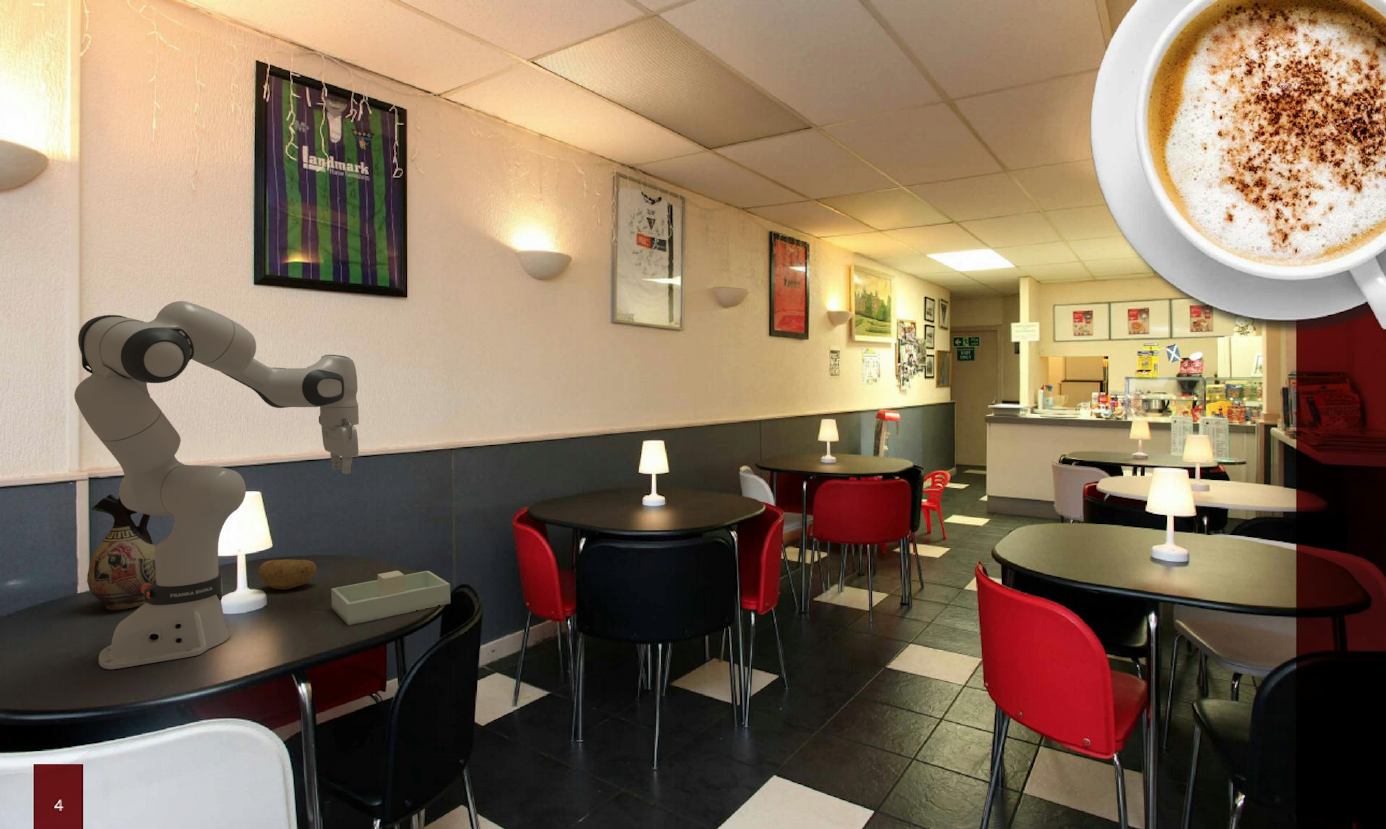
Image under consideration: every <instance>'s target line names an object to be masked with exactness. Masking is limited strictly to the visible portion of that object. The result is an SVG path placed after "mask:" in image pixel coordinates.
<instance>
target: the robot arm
mask: <svg viewBox="0 0 1386 829" xmlns="http://www.w3.org/2000/svg"><path fill="white" fill-rule="evenodd" d="M77 341H78V349H79V350H80V355H81V366H82V368H83V369H84V370H85V371H86V372H87V373H90V374H91V375H89V376H88V377H86V378H85V379H84V380H82V381H81V382H80V383H79V384H78V385H77V387H76V388H75V390H74V395H73V396H74V401H75V403H76V405H77V407H78V410H79V411H80V413H81V415H82V417H83V418H84V420H85V421H86V423H87V425H88V426H89V428H90V429H91V430H92V431H93V433H94V434H95V435H96V437H97V438H98V439H99V440H100V441H101V443H102V444H103V445H104V446H105V448H106V449H107V450H108V451H109V452H110V453H111V455H112V456H113V457H114V459H115V460H116V461H117V462H118V464H119V465H120V467H121V469H122V471H123V475H124V477H123V478H122V479H121V481H120V484H119V487H118V488H119V489H118V495H119V496H118V497H120V500H121V502H122V504H123V505H124V506H125V507H126V508H128V509H130V510H132V511H136V512H137V513H140V514H142V515H143V514H147V515H150V516H151V517H152V516H153V517H154V516H156V517H157V516H158V517H159V516H161V517H173V518H174V522H173V527H172V530H171V532H170V534H169V535H168V536H166V537H165V538H163V539H161V540H160V541H159V542H158V543H157V544H156V545H155V546H156V548H155V552H154V554H155V573H156V582H155V583H154V584H151V583H145V584H143V586H141V591H142V593H144V598H145V603H144V604H143V605H141V606H138V608H136V609H135V610H134V611H133V612H132V613H130V614H129V615H128V616H126V617H125V618H123V619H122V620H121V621H120V622H119V623H118V624H117V625H116V628H115V630H114V631H113V633H112V634H113V635H112V639H111V644H110V645H108V646H106V647H105V648H103V649H102V650H101V651H100V652H99V655H98V665H99V666H100V667H101V668H102V669H106V670H115V669H122V668H123V669H125V668H128V667H135V666H140V665H147V664H153V663H158V662H166V661H172V660H179V659H184V658H190V657H194V656H199V655H201V654H203V653H205V652H206V651H208V650H209V649H212V648H214V647H217V646H219V645H221V644H223V643H225V642H226V641H227V640H229V639H230V637H231V632H230V630H229V628H228V625H227V622H226V618H225V614H224V609H223V605H222V599H223V592H224V591H223V578H222V576H221V573H220V571H219V541H220V536H221V532H222V529H223V527H224V525H225V523H226V521H227V520H228V519H229V517H230V516H231V515H232V514H233V513H234V512H236V511H237V510H238V509H239V508H240V507H241V505H242V504H243V503H244V500H245V497H246V492H247V489H246V488H247V487H246V483H245V480H244V478H243V477H242V475H241V474H240V473H239V472H238V471H237V470H234V469H233V470H232V469H229V468H225V467H222V466H218V465H198V464H197V465H196V464H194V465H190V464H189V465H188V464H184V463H182V462H181V461H179V460H178V459H177V458H176V456H175V455H176V454H177V453H178V451H179V449H180V445H181V441H182V440H181V436H180V434H179V432H178V431H177V429H176V428H175V427H174V426H173V424H172V423H171V421H170V420H169V419H168V418H167V416H166V415H165V413H164V412H163V411H162V409H161V408H160V407H159V405H158V404H157V403H156V402H155V401H154V399H153V398H152V397H151V394H150V393H149V389H148V384H163V383H167V382H170V381H172V380H174V379H176V378H177V377H179V376H180V375H181V374H182V373H183V372H184V371H185V370H186V368H187V366H188V365H189V362H190V361H191V360H192V361H195V362H196V363H199V364H201V365H203V366H205V367H208V368H210V369H212V370H215V371H218V372H221V374H224V375H225V376H227V377H229V378H231V379H233V380H235V381H237V382H238V383H240V384H242V385H244V386H245V387H247V388H249V389H251V390H253V391H254V392H255V394H257V395H258V396H259V397H260V398H261V399H262V401H264V403H266V404H267V405H268V406H270V407H272V408H276V409H283V408H284V409H285V408H319V416H318V424H319V425H320V426H321V437H322V445H323V448H324V450H325V452H328V453H330V460H331V463H332V464H331V465H332V466H331V467H332V469H333V470H334V471H339V470H341V473H342V474H345V475H348V474H351V473H352V468H351V467H352V464H353V458H354V457H358V455H359V439H358V432H357V428H356V427H355V426H357V425H359V423H360V422H359V421H360V420H359V418H360V417H359V404H358V401H357V393H358V377H357V376H358V375H357V369H356V365H355V363H354V360H353V359H352V358H350V357H348V356H345V355H338V354H324V355H322V356H321V357H320V359H319V360H318V361H317V362H316V363H314V364H312V365H309V366H307V367H306V368H304V367H303V368H301V367H300V368H293V367H292V368H291V367H290V368H286V367H270V366H267V365H266V364H264V363H262V362H260V361H259V360H257V359H255V356H256V351H257V341H256V339H255V336H254V335H253V333H251V332H250V331H249V330H248V329H246V328H245V327H244V326H242V325H241V324H240V323H238V322H236V321H234V320H233V319H230V318H229V317H227V316H225V315H222V314H220V313H219V312H216V311H214V310H211V309H209V308H207V307H204V306H201V305H198V304H195V303H193V302H188V301H183V300H181V301H173V302H170V303H168V304H167V305H165V306H164V307H163V308H161V310H159V312H158V313H157V314H156V317H155V318H154V319H153V320H150V321H148V322H147V321H143V320H140V319H135V318H132V317H131V318H130V317H126V316H123V315H119V314H107V315H106V314H105V315H100V316H96V317H93V318H91V319H89V320H88V321H87V322H85V323H84V324H83V325H82V326H81V327H80V329H79V333H78V338H77ZM354 425H355V426H354ZM341 460H342V462H341ZM150 584H151V585H150Z"/></svg>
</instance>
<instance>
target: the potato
mask: <svg viewBox="0 0 1386 829" xmlns="http://www.w3.org/2000/svg"><path fill="white" fill-rule="evenodd" d="M316 572H317V565H316V563H315V562H313V561H312V560H308V559H292V558H291V559H290V558H289V559H288V558H287V559H286V558H285V559H284V558H283V559H272V560H271V559H270V560H266V561H264V562H262V564H260V566H259V568H258V570H257V573H258V576H259V579H260V580H261V582H262V583H263V584H264V585H265V586H268V587H270V588H272V589H275V590H280V591H281V590H282V591H284V590H287V591H288V590H291V589H294V588H297V587H302V586H304V585H305V584H307V583H308V582H309V581H310V580H311V579H312V578H313V577H314V576H315V575H316Z"/></svg>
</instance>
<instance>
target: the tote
mask: <svg viewBox="0 0 1386 829" xmlns="http://www.w3.org/2000/svg"><path fill="white" fill-rule="evenodd" d="M404 576H405V592H403V593H398V594H393V595H388V596H383V597H378V579H375V580H369V581H365V582H360V583H355V584H348V585H343V586H337V587H332V588H331V591H330V594H331V595H330V596H331V609H332V610H333V611H334V612H335V613H336V614H337V615H338V616H339V618H341V619H342V621H344V623H345V624H346V625H347V626H349V627H350V626H354V625H358V624H362V623H368V622H371V621H377V620H382V619H385V618H389V617H393V616H395V617H396V616H399V615H402V614H408V613H412V612H416V610H418V611H422V610H425V609H426V608H427V609H430V608H435V607H439V606H438V605H440V606H444V605H450V604H451V601H452V600H451V584H450V583H449V582H447V581H446V580H445V579H443V578H441V577H439V576H438V575H436V574H435V573H433V572H431V571H429V570H424V571H419V572H418V571H417V572H415V573H413V572H412V573H409V574H404Z"/></svg>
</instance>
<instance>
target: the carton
mask: <svg viewBox="0 0 1386 829" xmlns="http://www.w3.org/2000/svg"><path fill="white" fill-rule="evenodd" d="M404 575H405V574H404V573H402V572H401V571H399V570H393V571H389V572H383V573H377V580H378V597H383V596H388V595H393V594H398V593H403V592H405V576H404Z"/></svg>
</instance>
